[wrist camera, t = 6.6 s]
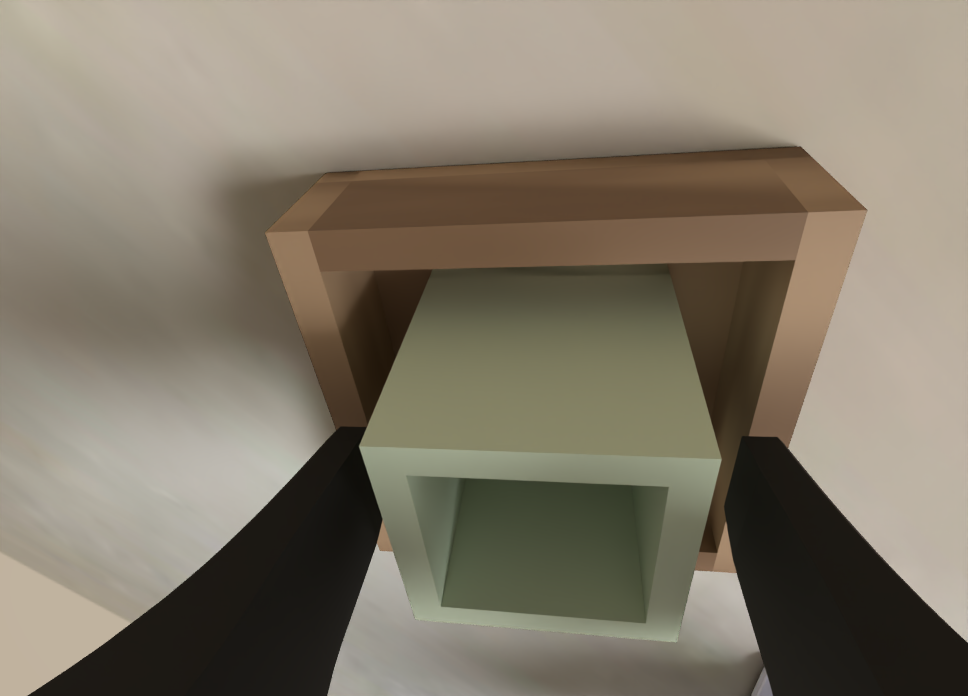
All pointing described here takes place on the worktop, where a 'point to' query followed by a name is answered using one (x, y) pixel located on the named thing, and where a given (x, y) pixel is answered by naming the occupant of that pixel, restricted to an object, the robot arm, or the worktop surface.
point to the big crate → (587, 241)
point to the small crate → (546, 451)
